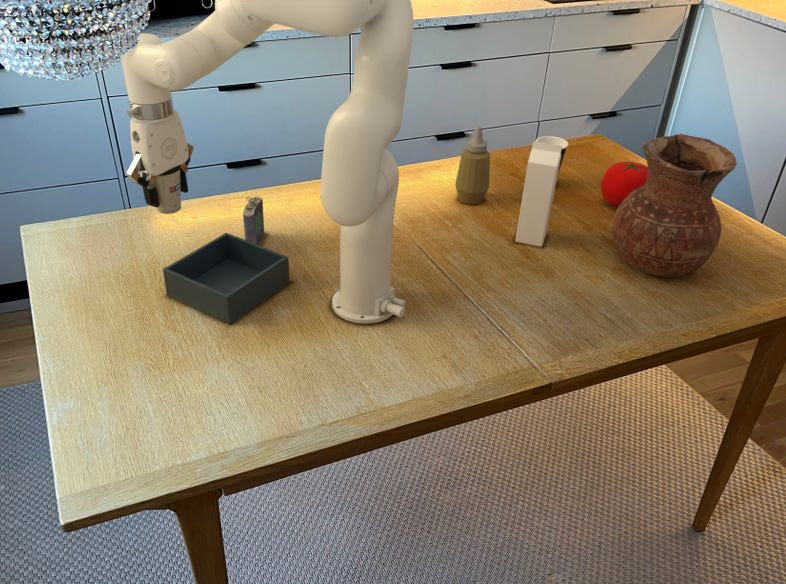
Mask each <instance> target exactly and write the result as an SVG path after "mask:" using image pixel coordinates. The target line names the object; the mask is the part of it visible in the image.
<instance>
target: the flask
mask: <svg viewBox="0 0 786 584" xmlns="http://www.w3.org/2000/svg"><path fill="white" fill-rule="evenodd" d="M247 201H248V202H247ZM245 202H247V203H246V205H245V207H244V208H243V212H242V216H243V217H242V218H243V219H242V220H243V230H244V240H246V241H249V242H252V243H254V244H257V245H259V246H261V242H263V239H264V237H265V236H266V234H265V220H264V201H263V197H261V196H254V197H252V196H251V197H250V196H247V197H246V198H245Z"/></svg>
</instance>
